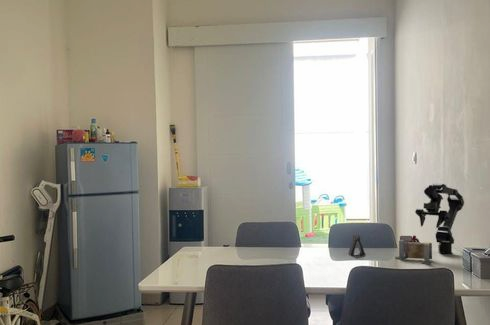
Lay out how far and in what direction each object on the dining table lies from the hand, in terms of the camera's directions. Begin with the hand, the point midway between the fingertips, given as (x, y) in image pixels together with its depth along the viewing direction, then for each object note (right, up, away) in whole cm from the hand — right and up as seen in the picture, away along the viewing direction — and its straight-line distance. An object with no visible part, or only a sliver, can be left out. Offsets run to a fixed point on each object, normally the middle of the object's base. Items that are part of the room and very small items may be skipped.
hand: (429, 227), depth 255 cm
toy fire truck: (-4, -18, +16) cm, 25 cm away
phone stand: (-39, -19, +12) cm, 45 cm away
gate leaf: (-8, -17, -6) cm, 20 cm away
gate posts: (-12, -18, -8) cm, 23 cm away
